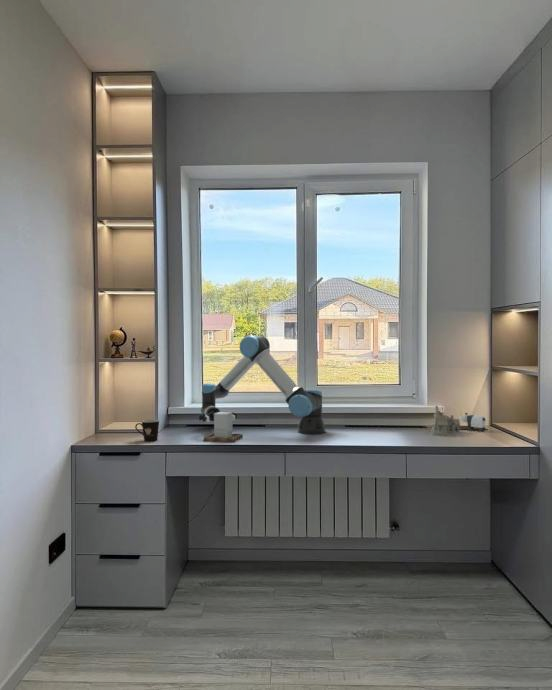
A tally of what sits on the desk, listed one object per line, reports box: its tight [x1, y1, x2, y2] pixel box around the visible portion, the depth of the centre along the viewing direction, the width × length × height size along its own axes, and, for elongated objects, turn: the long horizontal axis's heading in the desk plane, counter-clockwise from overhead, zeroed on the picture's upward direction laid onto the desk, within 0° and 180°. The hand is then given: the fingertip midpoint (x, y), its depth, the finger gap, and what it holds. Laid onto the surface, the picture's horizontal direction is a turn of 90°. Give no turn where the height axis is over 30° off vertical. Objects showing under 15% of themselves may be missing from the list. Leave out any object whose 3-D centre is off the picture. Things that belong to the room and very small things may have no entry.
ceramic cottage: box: [430, 405, 462, 437], centre depth 285 cm, size 16×16×15 cm
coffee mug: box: [135, 419, 160, 443], centre depth 269 cm, size 12×9×10 cm
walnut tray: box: [203, 432, 244, 443], centre depth 270 cm, size 16×14×2 cm
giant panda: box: [458, 412, 487, 433], centre depth 294 cm, size 15×6×10 cm, turn 47°
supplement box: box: [213, 411, 233, 438], centre depth 270 cm, size 7×7×13 cm
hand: (221, 419), depth 272 cm, fingers open, 13 cm apart
